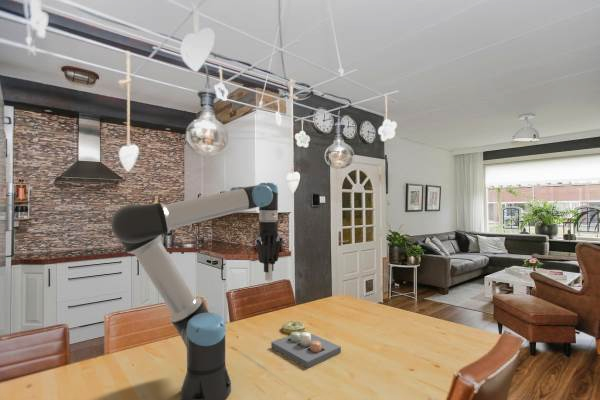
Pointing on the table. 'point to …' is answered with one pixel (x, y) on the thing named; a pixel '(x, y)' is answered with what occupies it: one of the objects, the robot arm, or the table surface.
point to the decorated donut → (293, 327)
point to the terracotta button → (315, 347)
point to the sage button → (295, 337)
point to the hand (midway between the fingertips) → (268, 279)
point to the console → (305, 350)
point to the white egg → (305, 339)
